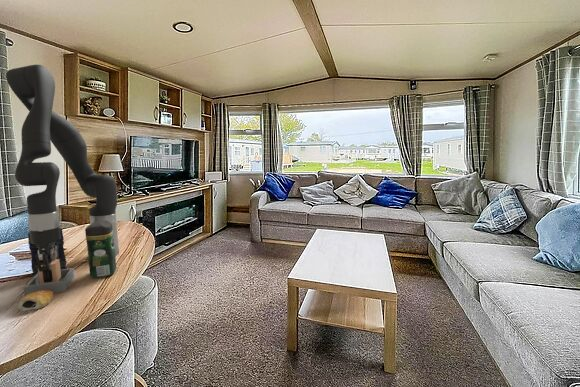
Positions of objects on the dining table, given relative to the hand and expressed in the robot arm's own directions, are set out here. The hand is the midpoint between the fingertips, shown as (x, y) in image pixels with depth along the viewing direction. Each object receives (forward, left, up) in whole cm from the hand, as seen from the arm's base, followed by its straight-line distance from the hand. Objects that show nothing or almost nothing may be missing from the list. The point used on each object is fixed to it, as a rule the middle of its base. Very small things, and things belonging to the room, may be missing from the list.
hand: (50, 278), depth 101 cm
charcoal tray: (0, 0, -3) cm, 3 cm away
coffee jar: (-5, +14, -3) cm, 15 cm away
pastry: (+12, -1, -3) cm, 13 cm away
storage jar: (-14, -4, -3) cm, 15 cm away
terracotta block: (0, 0, -1) cm, 1 cm away
